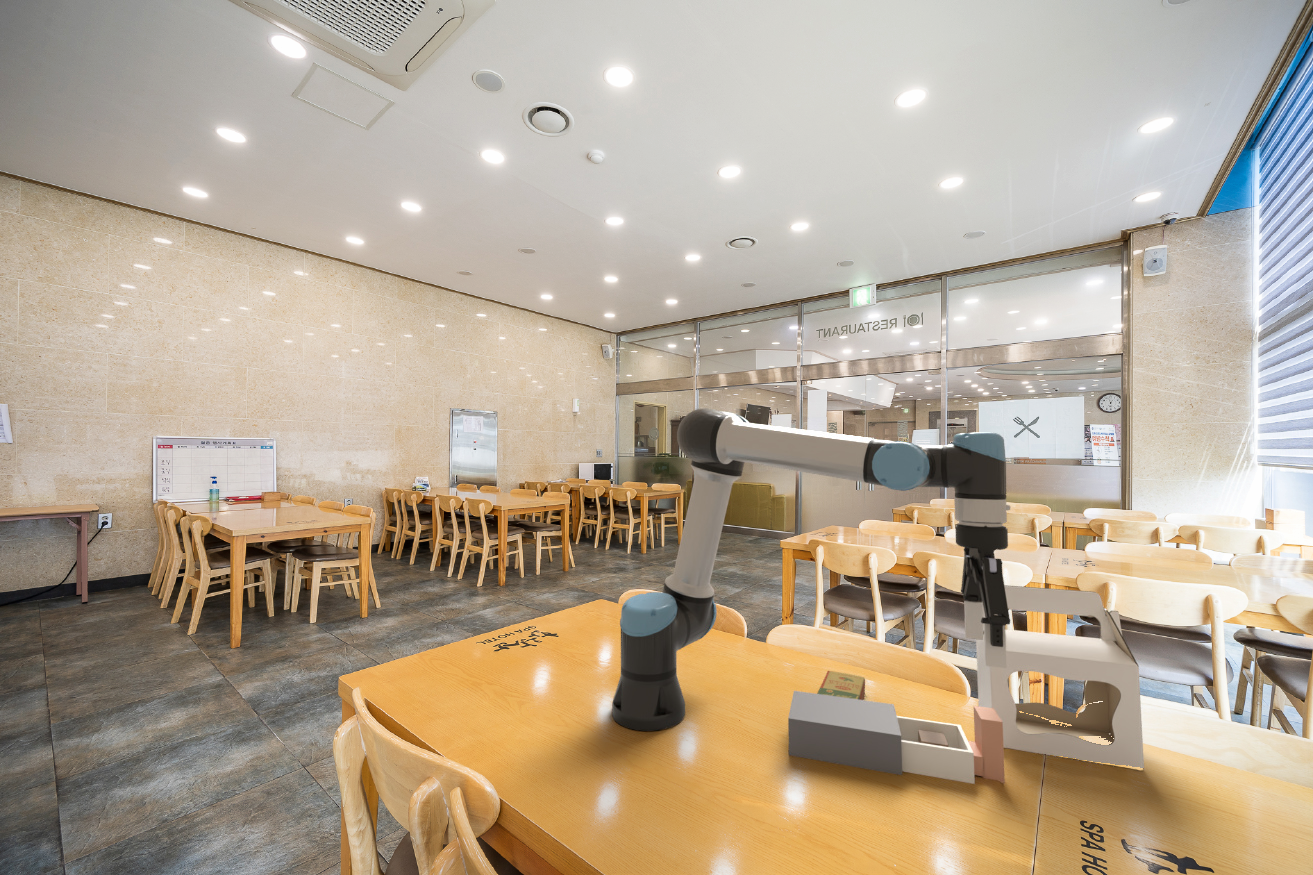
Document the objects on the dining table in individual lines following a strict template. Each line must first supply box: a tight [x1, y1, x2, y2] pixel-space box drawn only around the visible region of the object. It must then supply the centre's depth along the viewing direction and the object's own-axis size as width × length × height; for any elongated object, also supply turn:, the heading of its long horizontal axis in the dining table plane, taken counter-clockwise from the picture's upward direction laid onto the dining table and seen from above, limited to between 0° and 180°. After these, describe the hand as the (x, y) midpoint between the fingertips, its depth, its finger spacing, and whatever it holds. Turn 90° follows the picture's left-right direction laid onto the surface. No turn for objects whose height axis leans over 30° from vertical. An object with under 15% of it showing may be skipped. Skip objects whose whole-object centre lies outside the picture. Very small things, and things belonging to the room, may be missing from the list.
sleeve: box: [787, 690, 903, 776], centre depth 94 cm, size 18×12×7 cm, turn 71°
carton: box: [816, 670, 866, 700], centre depth 112 cm, size 8×16×4 cm, turn 153°
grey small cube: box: [918, 730, 948, 747], centre depth 89 cm, size 4×4×4 cm
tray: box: [897, 705, 1006, 785], centre depth 89 cm, size 21×10×10 cm, turn 71°
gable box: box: [975, 584, 1145, 769], centre depth 98 cm, size 22×13×28 cm, turn 68°
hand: (984, 651), depth 87 cm, fingers open, 13 cm apart
